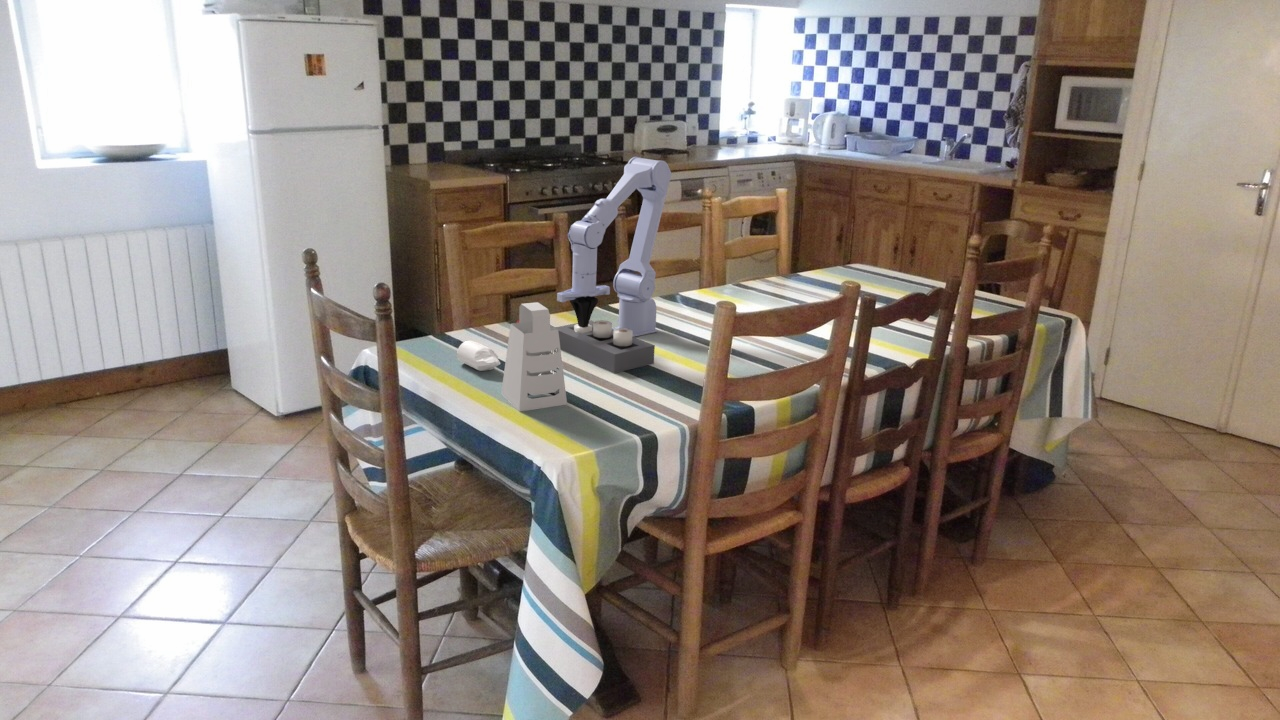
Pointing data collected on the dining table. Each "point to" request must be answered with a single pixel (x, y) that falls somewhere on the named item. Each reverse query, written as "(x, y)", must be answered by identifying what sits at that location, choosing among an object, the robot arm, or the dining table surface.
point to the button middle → (602, 329)
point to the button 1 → (581, 329)
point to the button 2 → (622, 337)
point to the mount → (605, 349)
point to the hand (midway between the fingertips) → (583, 326)
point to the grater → (533, 361)
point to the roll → (477, 356)
